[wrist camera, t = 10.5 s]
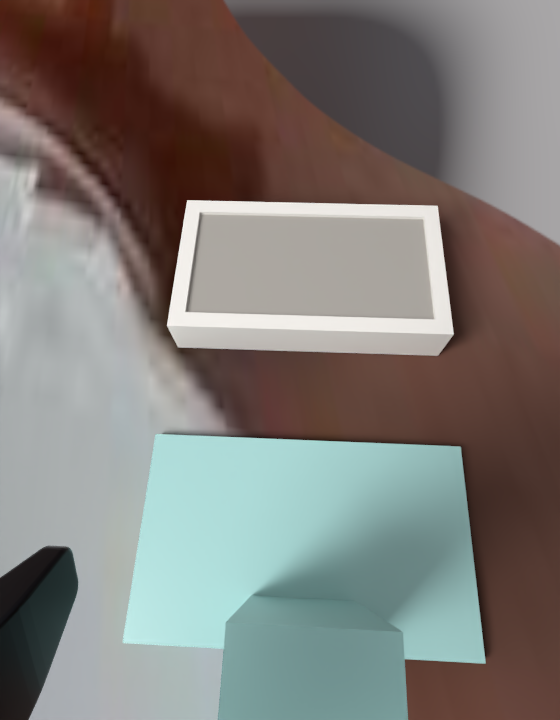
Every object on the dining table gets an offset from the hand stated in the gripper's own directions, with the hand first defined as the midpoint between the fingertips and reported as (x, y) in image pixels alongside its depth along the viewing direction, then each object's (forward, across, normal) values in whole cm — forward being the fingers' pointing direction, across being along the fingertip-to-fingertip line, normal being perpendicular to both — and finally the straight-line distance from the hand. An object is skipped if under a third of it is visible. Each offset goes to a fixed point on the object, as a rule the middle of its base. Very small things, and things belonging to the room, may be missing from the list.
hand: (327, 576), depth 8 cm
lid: (+10, 0, +9) cm, 14 cm away
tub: (+20, 0, 0) cm, 20 cm away
